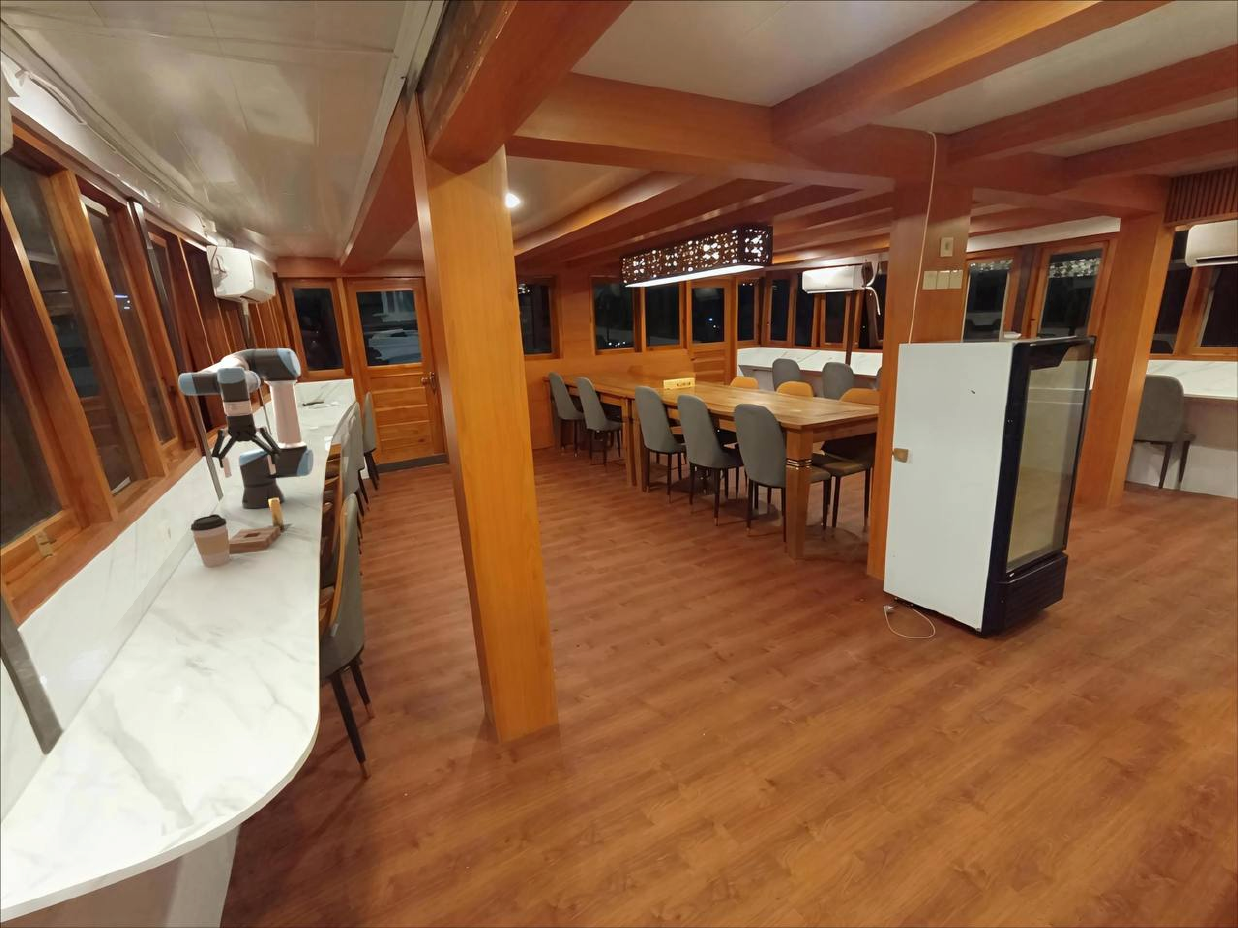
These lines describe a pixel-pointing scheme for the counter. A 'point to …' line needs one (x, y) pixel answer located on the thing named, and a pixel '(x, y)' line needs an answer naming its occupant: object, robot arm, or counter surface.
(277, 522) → the peg
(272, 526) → the mat
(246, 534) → the hole block
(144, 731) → the counter surface
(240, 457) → the robot arm
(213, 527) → the coffee cup
